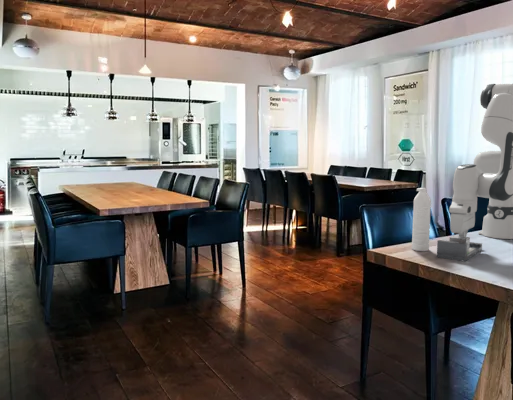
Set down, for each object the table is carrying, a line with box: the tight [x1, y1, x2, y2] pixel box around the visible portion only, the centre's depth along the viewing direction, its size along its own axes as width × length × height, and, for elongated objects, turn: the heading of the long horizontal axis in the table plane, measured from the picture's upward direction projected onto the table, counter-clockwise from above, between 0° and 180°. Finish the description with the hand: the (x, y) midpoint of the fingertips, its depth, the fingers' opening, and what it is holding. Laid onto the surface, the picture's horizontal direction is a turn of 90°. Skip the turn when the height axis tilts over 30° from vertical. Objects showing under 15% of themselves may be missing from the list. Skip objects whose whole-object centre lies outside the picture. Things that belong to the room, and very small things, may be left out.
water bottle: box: [411, 187, 432, 252], centre depth 180 cm, size 9×6×25 cm
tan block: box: [448, 235, 471, 251], centre depth 175 cm, size 5×6×5 cm
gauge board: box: [436, 239, 483, 262], centre depth 177 cm, size 24×10×6 cm, turn 141°
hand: (462, 241), depth 178 cm, fingers closed
